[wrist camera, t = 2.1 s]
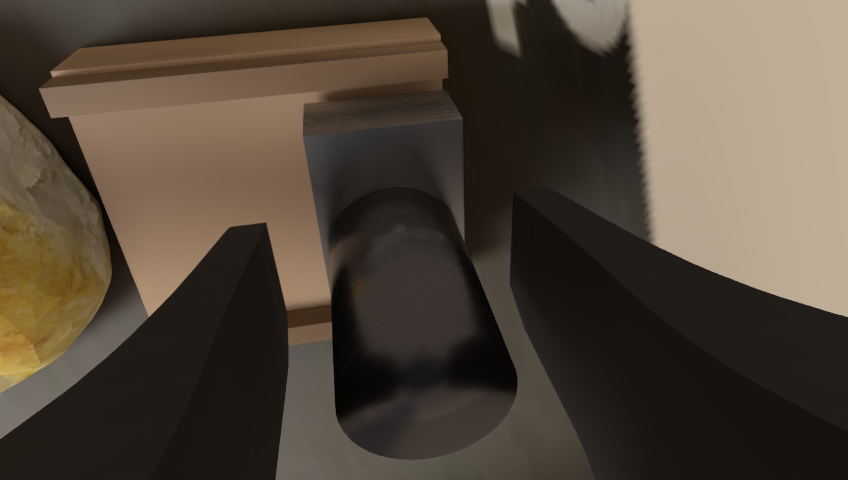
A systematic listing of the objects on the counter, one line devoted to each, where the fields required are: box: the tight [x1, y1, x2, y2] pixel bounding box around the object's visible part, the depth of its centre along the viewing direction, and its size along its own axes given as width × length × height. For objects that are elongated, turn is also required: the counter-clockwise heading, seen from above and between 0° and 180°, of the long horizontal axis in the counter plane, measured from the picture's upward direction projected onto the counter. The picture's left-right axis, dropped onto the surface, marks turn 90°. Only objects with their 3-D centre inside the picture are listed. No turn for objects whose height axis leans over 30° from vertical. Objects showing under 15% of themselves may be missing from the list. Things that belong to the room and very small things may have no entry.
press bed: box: [39, 17, 448, 346], centre depth 12 cm, size 6×7×2 cm
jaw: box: [303, 89, 517, 460], centre depth 10 cm, size 5×3×5 cm, turn 3°
